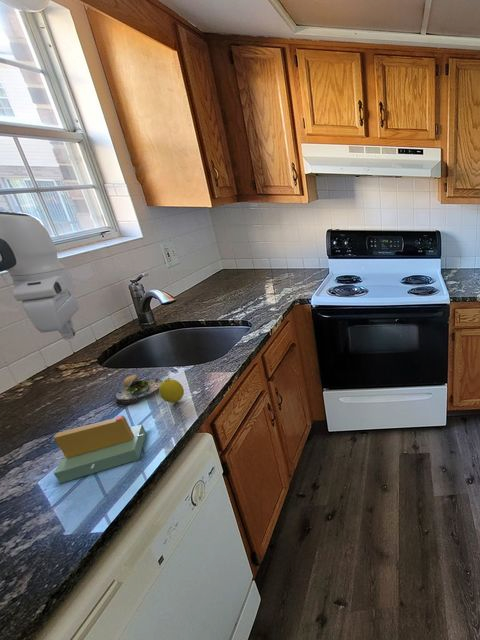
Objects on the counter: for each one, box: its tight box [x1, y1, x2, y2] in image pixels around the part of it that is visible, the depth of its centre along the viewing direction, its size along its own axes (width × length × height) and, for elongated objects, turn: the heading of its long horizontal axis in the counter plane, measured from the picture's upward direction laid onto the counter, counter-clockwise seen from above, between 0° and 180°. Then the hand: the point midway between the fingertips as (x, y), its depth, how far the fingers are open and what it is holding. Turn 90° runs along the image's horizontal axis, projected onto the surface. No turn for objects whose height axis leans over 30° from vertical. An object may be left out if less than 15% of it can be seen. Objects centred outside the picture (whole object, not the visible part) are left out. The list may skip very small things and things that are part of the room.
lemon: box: [158, 378, 185, 404], centre depth 106 cm, size 6×6×8 cm
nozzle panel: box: [53, 423, 147, 484], centre depth 87 cm, size 16×16×3 cm
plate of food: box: [114, 374, 163, 405], centre depth 111 cm, size 12×12×8 cm
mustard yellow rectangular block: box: [53, 415, 134, 458], centre depth 85 cm, size 12×2×6 cm, turn 120°
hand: (70, 337), depth 91 cm, fingers closed
